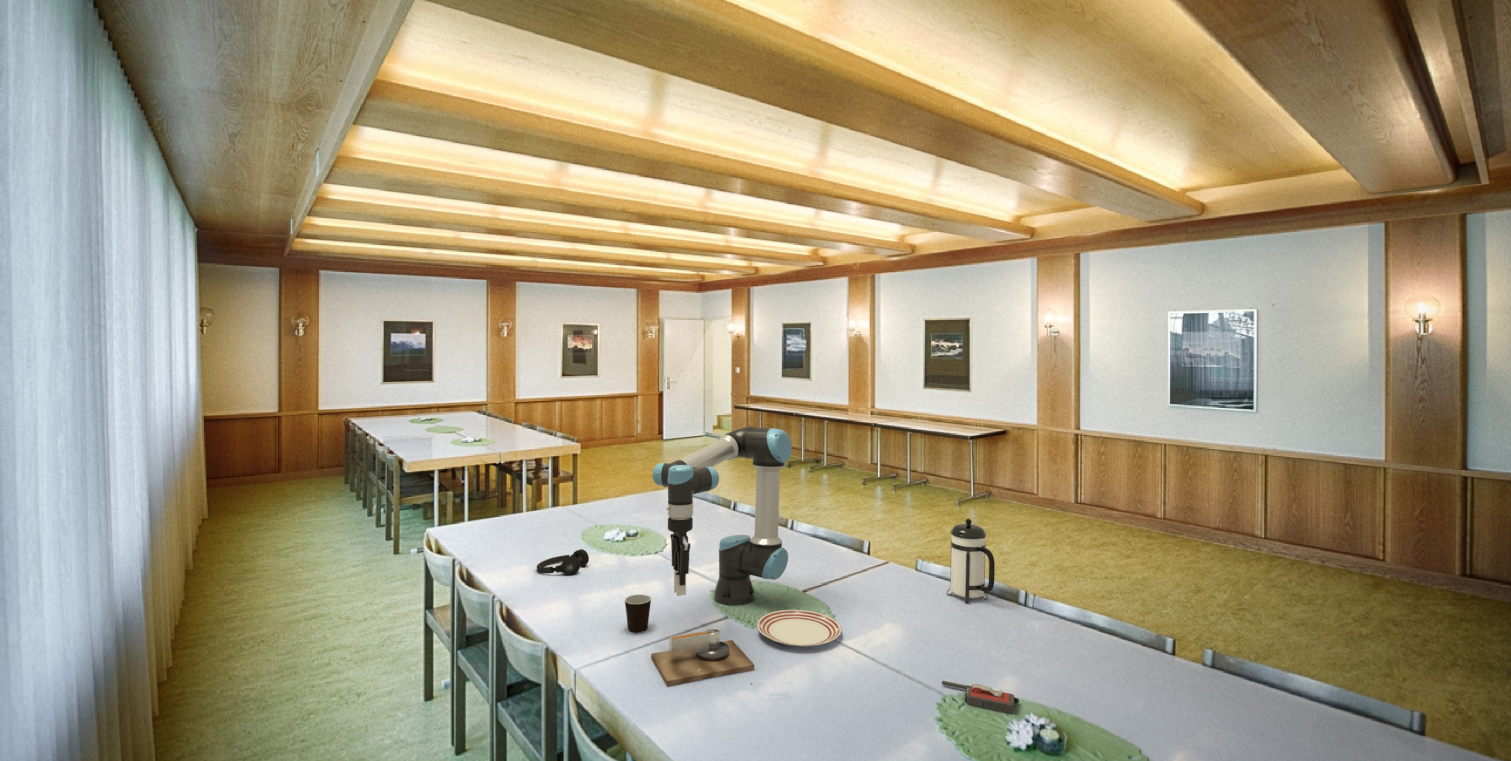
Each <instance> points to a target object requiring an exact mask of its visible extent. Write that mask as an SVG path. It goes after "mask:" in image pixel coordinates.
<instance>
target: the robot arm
mask: <svg viewBox="0 0 1511 761" xmlns="http://www.w3.org/2000/svg"><path fill="white" fill-rule="evenodd" d="M792 450H793V448H792V442H791V437H790V436H789V435H788V433H787V432H786V431H785V430H782V429H780V428H778V429H777V428H773V427H771V428H770V427H769V428H768V427H756V426H745V427H741V428H738V429H735V430H732V431H729V432H727V433H725V434H723V435H720V437H718V439H717V441H715V442H712V443H710V444H708V445H706V446H704V447H702V448H699V449H697V450H696V451H694V452H692V453H689V454H688V455H685V456H683V457H681V458H679V459H677V460H675V461H672V462H670V463H668V462H660V463H657V464H656V465H655V467H654V468H653V470H652V480H653V482H654V484H656V485H657V486H660V487H664V488H667V507H666V509H665V510H666V511H667V516H668V518H667V530H668V531H669V532H673V533H670V541H671V542H670V544H671V546H670V547H671V550H670V551H671V566H672V567H673V568H672V569H673V570H674V571H673V593H676V596H677V597H680V596H687V575H688V574H689V572H690V571H689V570H690V550H691V543H689V536H688V534H687V533H688V532H689V531H690V532H691V531H692V530H693V526H694V525H693V524H694V523H693V522H694V521H693V520H694V519H693V516H694V495H698V494H701V493H704V492H710V491H712V490H714V489H716V488H717V487H718V485H719V483H720V474H719V472H718V471H717V469H715V466H717V465H719V464H721V463H723V462H725V461H733V460H735V459H737V458H738V459H740V458H741V459H742V458H743V459H752V467H754V469H755V471H756V474H755V475H756V476H755V477H756V480H755V482H756V483H755V503H754V504H755V511H754V535H753V536H752V537H750V535H747V534H736V535H735V534H733V535H729V536H724V537H723V538H721V539H720V541H719V547H718V580H717V582H716V585H715V589H714V591H713V592H714V593H713V595H714V597H713V598H714V601H716V602H717V603H719V604H723V605H727V604H729V605H728V606H739V605H738V604H741V605H746V604H749V603H751V602H753V601H754V600H755V589H754V585H753V583H752V580H751V576H753V577H757V578H760V579H761V578H762V579H763V580H771V581H774V580H775V581H776V580H777V579H779V578H780V577H781V576H782V575H783V574H784V572H785V571H786V568H787V565H788V562H789V552H788V551H787V549H785V548H784V547H783V541H782V539H781V537H779V516H780V488H781V487H780V485H781V484H780V483H781V470H782V469H784V468H785V463H787V462H788V461H789V460H790V458H791V455H792V453H793V452H792ZM745 603H746V604H745ZM730 604H731V605H730Z"/></svg>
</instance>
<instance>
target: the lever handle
mask: <svg viewBox="0 0 1511 761" xmlns="http://www.w3.org/2000/svg"><path fill="white" fill-rule="evenodd" d="M668 651H669V654H670V655H671V657H675V656H681V655H687V654H692V653H696V656H697V657H698V658H700V659H703V660H708V661H715V660H721V659H724V658H726V657H727V656H728V655H729V646H728V645H727V644H726V643H724V642H722V641H720V630H719V629H716V628H709V629H706V630H705V631H698V632H697V631H696V632H692V633H685V634H684V633H683V634H679V635H674V636H669V650H668Z"/></svg>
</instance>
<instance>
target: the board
mask: <svg viewBox="0 0 1511 761" xmlns="http://www.w3.org/2000/svg"><path fill="white" fill-rule="evenodd" d="M721 642H724V643H726V644H727V645H728V646H729V655H728V656H727V657H726V658H724V659H721V660H715V661H708V660H703V659H700V658H698V657H697V656H696V653H692V654H687V655H681V656H675V657H671V655H670V654H669V650H665V651H660V652H654V653H651V654H650V657H651V658H650V659H651V660H652V662H653V665H655V667H656V670H657V671H658V673H659V675H660V677H661V678H662V680H663V681H664V684H665V685H666V687H672V686H677V685H682V684H688V683H693V682H697V681H703V680H709V679H713V678H718V677H724V676H725V677H726V676H730V675H734V674H739V673H744V672H750V671H754V670H755V663H754V662H753V661H752V660H751V659H750V658H749V657H748V656H747V654H746V653H745V652H744V651H743V650H742V649H741V648H740V647H739V645H738V644H737V643H736V642H735V641H734V640H733V639H729V640H723V641H721Z"/></svg>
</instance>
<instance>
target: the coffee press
mask: <svg viewBox="0 0 1511 761" xmlns="http://www.w3.org/2000/svg"><path fill="white" fill-rule="evenodd" d="M964 522H965V523H960V524H959V523H958V524H956V525H954V526H953V527H952V529H951V530H950V534H951V540H950V569H949V570H950V573H949V574H950V575H949V577H950V578H949V580H950V581H949V583H950V584H949V585H950V587H949V588H948V589H947V591H946V595H947V596H951V595H956V596H958V597H961V598H964V601H965V602H964V603H965V604H970V599H977V598H980V597H981V598H983V599H984V600H985V601H987V600H988V599H989V597H988V594H987V593H989V592H991V591H993V589H994V586H995V574H996V573H995V565H996V564H995V558H994V555H993V553H992V551H991V550H990V549H988V548H986V545H987V544H986V537H987V532H986V531H985V529H984V528H983V527H981V526H979V525H976V524H972V523H973V522H972V520H971V518H966V520H965V521H964ZM986 556H987V558H988V584H987V586H985V584H986V583H985V582H986V569H985V564H986ZM949 591H951V592H950V593H949ZM984 594H985V596H986V597H984V596H983V595H984Z"/></svg>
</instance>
